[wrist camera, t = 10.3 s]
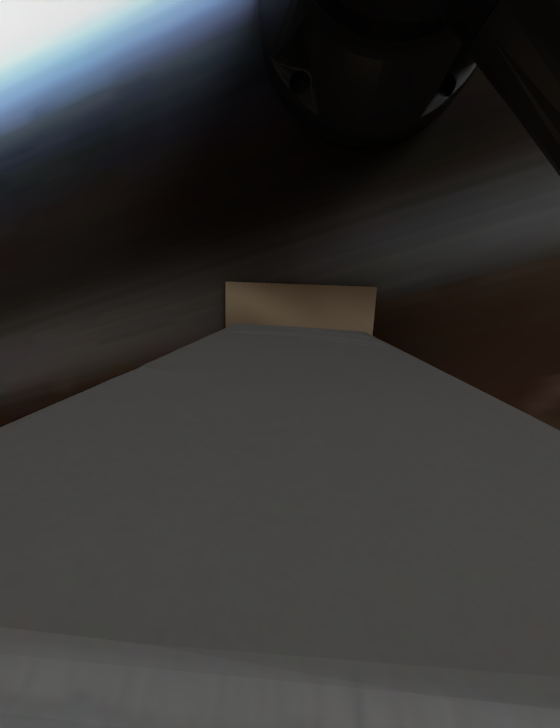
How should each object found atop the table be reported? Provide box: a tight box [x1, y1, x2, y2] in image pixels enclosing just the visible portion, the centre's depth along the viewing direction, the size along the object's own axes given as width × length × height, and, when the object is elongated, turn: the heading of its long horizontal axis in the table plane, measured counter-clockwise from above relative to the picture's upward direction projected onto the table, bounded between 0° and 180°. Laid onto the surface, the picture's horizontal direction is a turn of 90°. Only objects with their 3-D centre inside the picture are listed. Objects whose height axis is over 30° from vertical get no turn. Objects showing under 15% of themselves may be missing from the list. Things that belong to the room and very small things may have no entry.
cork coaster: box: [226, 282, 377, 335], centre depth 29 cm, size 11×12×1 cm
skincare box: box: [0, 323, 560, 728], centre depth 9 cm, size 8×7×16 cm
